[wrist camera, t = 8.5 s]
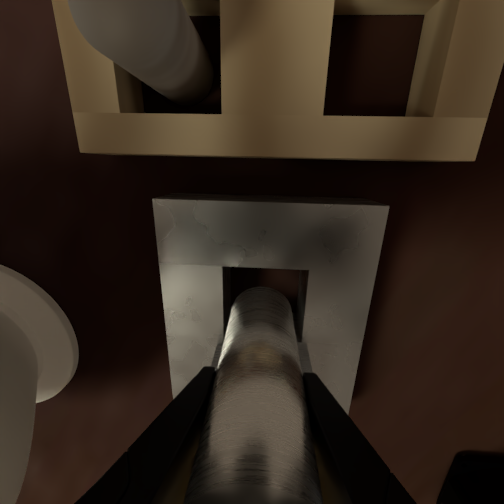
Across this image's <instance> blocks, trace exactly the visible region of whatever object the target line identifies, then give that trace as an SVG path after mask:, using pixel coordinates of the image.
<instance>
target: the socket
mask: <svg viewBox="0 0 504 504" xmlns="http://www.w3.org/2000/svg"><path fill="white" fill-rule="evenodd" d="M152 202H153V211H154V221H155V230H156V240H157V249H158V259H159V268H160V278H161V287H162V297H163V306H164V316H165V326H166V335H167V345H168V354H169V364H170V373H171V383H172V392H173V399H174V398H175V397H176V396H177V395H178V394H179V393H180V392H181V391H182V390H183V389H184V387H185V386H186V385H187V384H188V383H189V382H190V381H191V380H192V379H193V378H194V377H195V375H196V374H197V373H198V372H199V371H200V370H201V369H202V368H203V367H204V366H214V367H216V370H217V366H218V362H219V358H220V354H221V350H222V346H223V342H224V338H225V334H226V330H227V326H228V322H229V318H230V314H231V267H251V268H274V269H297V270H300V274H299V285H298V296H297V307H296V313H292V316H293V322H294V328H295V334H296V340H297V346H298V352H299V358H300V364H301V370H302V376H303V373H304V372H313V373H316V374H317V375H318V377H319V378H320V379H321V381H322V382H323V383H324V385H325V386H326V387H327V388H328V390H329V391H330V392H331V394H332V395H333V396H334V398H335V399H336V400H337V401H338V403H339V404H340V405H341V407H342V408H343V409H344V411H345V412H346V413H347V415H348V413H349V408H350V403H351V398H352V393H353V388H354V383H355V378H356V373H357V368H358V363H359V358H360V353H361V348H362V343H363V338H364V333H365V328H366V322H367V317H368V312H369V307H370V302H371V297H372V292H373V287H374V282H375V277H376V272H377V267H378V262H379V257H380V252H381V247H382V242H383V237H384V232H385V227H386V222H387V217H388V212H389V206H388V205H385V204H382V203H379V202H376V201H373V200H369V199H366V198H343V197H309V196H274V195H240V194H205V193H171V194H168V195H164V196H161V197H157V198H153V199H152Z"/></svg>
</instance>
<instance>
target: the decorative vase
mask: <svg viewBox="0 0 504 504" xmlns="http://www.w3.org/2000/svg"><path fill="white" fill-rule="evenodd" d="M78 359H79V349H78V343H77V339H76V335H75V332H74V330H73V327H72V325H71V323H70V321H69V320H68V318H67V316H66V315H65V313H64V312H63V310H62V309H61V308H60V306H59V305H58V304H57V303H56V302H55V301H54V299H53V298H52V297H51V296H50V295H49V294H48V293H46V292H45V291H44V290H43V289H42V288H41V287H39V286H38V285H37V284H36V283H34V282H33V281H31V280H30V279H28V278H27V277H25V276H23V275H22V274H20V273H18V272H16V271H14V270H12V269H10V268H8V267H5V266H3V265H0V504H15V503H16V500H17V498H18V495H19V492H20V489H21V487H22V483H23V480H24V476H25V473H26V468H27V464H28V459H29V454H30V448H31V442H32V435H33V427H34V418H35V407H36V403H38V402H42V401H45V400H47V399H49V398H51V397H53V396H55V395H56V394H58V393H59V392H60V391H61V390H62V389H63V388H64V387H65V386H66V385H67V384H68V383H69V382H70V380H71V379H72V377H73V376H74V374H75V371H76V369H77V365H78Z"/></svg>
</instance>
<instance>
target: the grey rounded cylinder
mask: <svg viewBox="0 0 504 504" xmlns="http://www.w3.org/2000/svg"><path fill="white" fill-rule="evenodd" d="M183 504H324V502H323V496H322V490H321V484H320V478H319V472H318V466H317V460H316V454H315V448H314V442H313V436H312V430H311V424H310V418H309V412H308V406H307V400H306V394H305V388H304V382H303V376H302V370H301V364H300V358H299V352H298V346H297V340H296V334H295V328H294V322H293V316H292V310H291V306H290V303H289V301H288V300H287V298H286V297H285V296H284V295H283V294H282V293H280V292H279V291H277V290H275V289H272V288H269V287H253V288H250V289H247V290H245V291H244V292H242V293H241V294H240V295H239V296H238V297H237V298H236V299H235V301H234V303H233V306H232V310H231V314H230V318H229V322H228V326H227V330H226V334H225V338H224V342H223V346H222V350H221V354H220V358H219V362H218V366H217V370H216V374H215V378H214V382H213V386H212V390H211V394H210V398H209V402H208V406H207V410H206V414H205V418H204V422H203V426H202V430H201V434H200V438H199V442H198V446H197V450H196V454H195V458H194V462H193V466H192V470H191V474H190V478H189V482H188V486H187V490H186V494H185V498H184V502H183Z"/></svg>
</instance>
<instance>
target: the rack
mask: <svg viewBox="0 0 504 504" xmlns="http://www.w3.org/2000/svg"><path fill="white" fill-rule="evenodd" d="M52 4H53V9H54V15H55V20H56V25H57V31H58V36H59V42H60V47H61V52H62V58H63V63H64V69H65V74H66V79H67V85H68V90H69V95H70V101H71V106H72V112H73V117H74V122H75V128H76V133H77V139H78V144H79V149H80V153H92V154H106V155H138V156H184V157H230V158H276V159H322V160H368V161H414V162H459V161H475V159H476V156H477V152H478V149H479V146H480V142H481V139H482V135H483V132H484V128H485V125H486V122H487V118H488V115H489V111H490V108H491V104H492V101H493V97H494V94H495V91H496V87H497V84H498V80H499V77H500V73H501V70H502V67H503V63H504V0H52ZM333 15H425V16H424V21H423V27H422V32H421V37H420V42H419V47H418V52H417V57H416V62H415V67H414V73H413V78H412V83H411V88H410V93H409V98H408V103H407V108H406V114H405V117H386V116H323V110H324V100H325V90H326V80H327V70H328V61H329V51H330V41H331V31H332V21H333ZM189 16H220V38H221V104H222V114H161V113H144V103H143V93H142V84H141V81H143V82H144V83H146V84H147V85H149V86H150V87H151V88H153V89H154V90H156V91H157V92H159V93H160V94H162V95H163V96H165V97H166V98H168V99H169V100H171V101H172V102H174V103H176V104H178V105H182V106H191V105H195V104H197V103H199V102H201V101H202V100H203V99H204V98H205V97H206V96H207V94H208V93H209V91H210V89H211V87H212V83H213V78H214V70H213V64H212V60H211V58H210V55H209V53H208V51H207V49H206V48H205V46H204V44H203V42H202V40H201V38H200V36H199V34H198V32H197V30H196V28H195V27H194V25H193V23H192V21H191V19H190V17H189Z"/></svg>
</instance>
